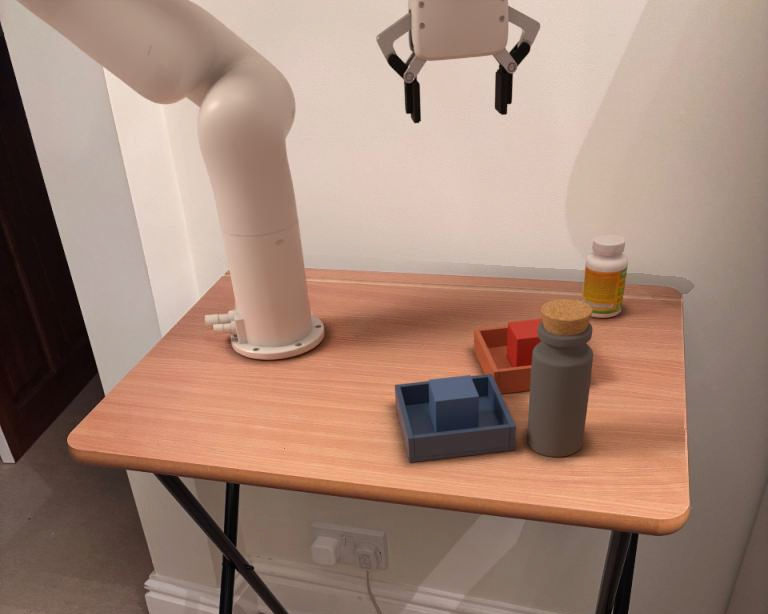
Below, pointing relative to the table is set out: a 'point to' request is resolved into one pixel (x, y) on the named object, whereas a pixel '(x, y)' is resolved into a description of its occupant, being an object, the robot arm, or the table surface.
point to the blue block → (453, 403)
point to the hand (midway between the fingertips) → (458, 116)
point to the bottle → (560, 379)
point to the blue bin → (429, 445)
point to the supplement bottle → (605, 276)
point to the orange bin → (500, 360)
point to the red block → (522, 341)
